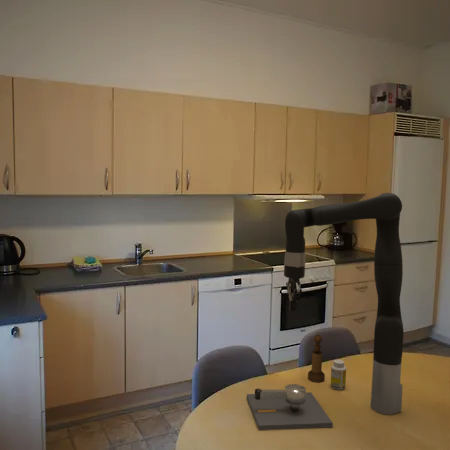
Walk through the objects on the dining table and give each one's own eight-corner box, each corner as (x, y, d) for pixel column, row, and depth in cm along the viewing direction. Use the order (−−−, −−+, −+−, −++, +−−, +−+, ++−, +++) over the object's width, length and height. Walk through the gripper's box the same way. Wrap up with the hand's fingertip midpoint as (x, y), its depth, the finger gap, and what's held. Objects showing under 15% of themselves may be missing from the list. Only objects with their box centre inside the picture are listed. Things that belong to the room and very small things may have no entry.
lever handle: (302, 404, 155) (303, 384, 155) (307, 414, 148) (308, 393, 148) (253, 404, 154) (253, 383, 154) (255, 414, 147) (256, 392, 147)
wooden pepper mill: (312, 383, 177) (314, 338, 176) (305, 376, 184) (306, 333, 182) (327, 381, 179) (329, 337, 178) (319, 375, 185) (321, 332, 184)
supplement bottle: (342, 384, 177) (343, 358, 177) (347, 390, 172) (348, 364, 171) (328, 384, 177) (329, 358, 176) (333, 390, 171) (334, 364, 171)
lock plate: (310, 396, 166) (311, 391, 166) (332, 427, 144) (332, 422, 144) (246, 398, 163) (246, 393, 163) (258, 430, 141) (258, 425, 141)
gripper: (280, 261, 171) (278, 306, 173) (289, 267, 158) (287, 315, 160) (299, 261, 172) (297, 306, 174) (310, 267, 159) (308, 315, 160)
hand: (292, 310), depth 167 cm, fingers closed
